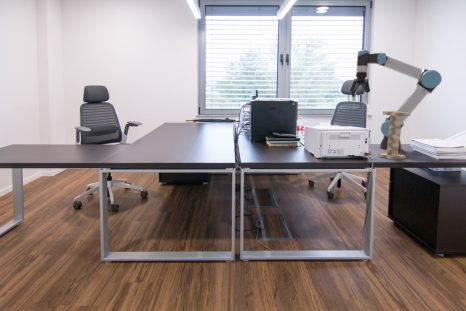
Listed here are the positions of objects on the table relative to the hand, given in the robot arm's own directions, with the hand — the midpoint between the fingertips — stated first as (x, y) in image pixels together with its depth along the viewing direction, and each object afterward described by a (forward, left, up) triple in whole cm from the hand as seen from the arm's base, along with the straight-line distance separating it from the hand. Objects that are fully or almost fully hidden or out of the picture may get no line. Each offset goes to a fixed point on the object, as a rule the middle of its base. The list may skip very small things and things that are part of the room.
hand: (359, 101), depth 310 cm
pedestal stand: (+13, +39, -34) cm, 54 cm away
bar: (+12, +13, -35) cm, 39 cm away
